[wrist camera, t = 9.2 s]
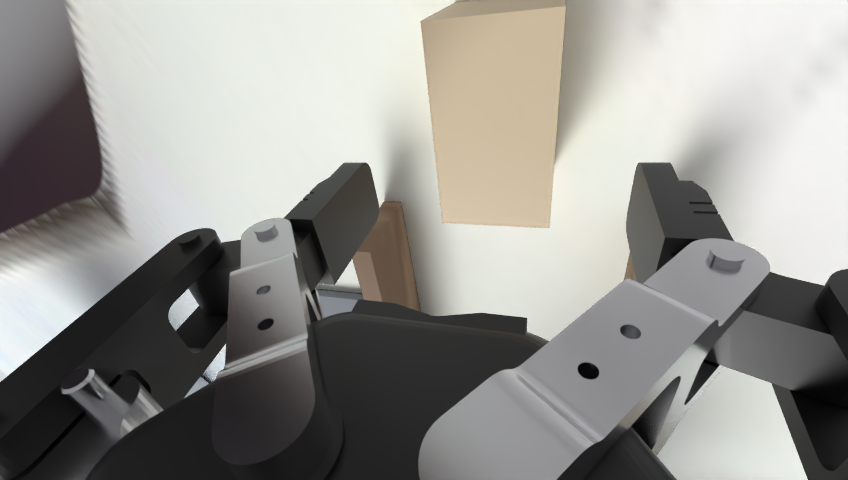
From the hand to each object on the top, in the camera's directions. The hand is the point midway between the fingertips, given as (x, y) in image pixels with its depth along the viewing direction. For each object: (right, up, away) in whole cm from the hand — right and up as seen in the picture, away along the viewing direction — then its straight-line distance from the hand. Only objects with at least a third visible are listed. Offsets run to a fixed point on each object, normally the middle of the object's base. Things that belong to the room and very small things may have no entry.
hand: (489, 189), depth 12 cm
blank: (+1, +5, +5) cm, 7 cm away
